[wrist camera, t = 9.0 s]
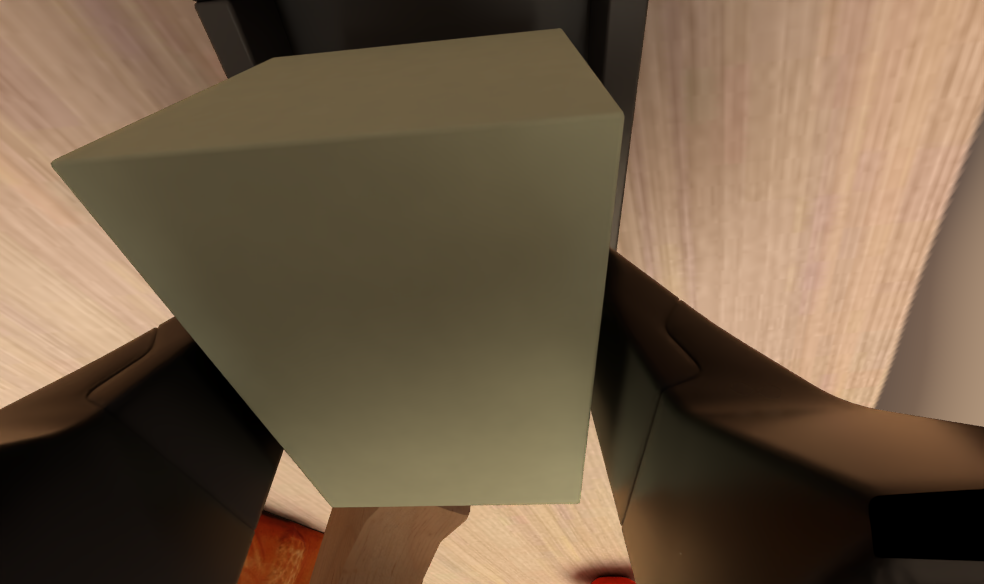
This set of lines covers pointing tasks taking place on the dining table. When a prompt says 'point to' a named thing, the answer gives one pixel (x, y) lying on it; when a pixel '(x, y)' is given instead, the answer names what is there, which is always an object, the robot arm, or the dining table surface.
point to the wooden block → (383, 543)
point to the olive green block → (387, 257)
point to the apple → (613, 580)
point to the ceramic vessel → (281, 552)
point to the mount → (435, 36)
